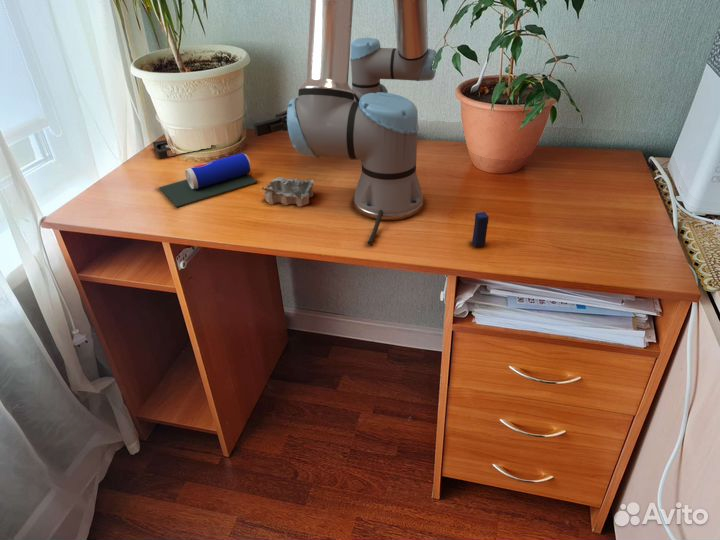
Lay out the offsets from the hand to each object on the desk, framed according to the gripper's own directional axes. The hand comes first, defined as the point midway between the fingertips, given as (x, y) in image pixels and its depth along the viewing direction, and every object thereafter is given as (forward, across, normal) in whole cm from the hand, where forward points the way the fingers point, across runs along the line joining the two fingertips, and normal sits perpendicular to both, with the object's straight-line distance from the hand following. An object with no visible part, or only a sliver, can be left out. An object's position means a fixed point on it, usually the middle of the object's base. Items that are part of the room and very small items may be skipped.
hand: (255, 130), depth 126 cm
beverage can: (+3, 0, -8) cm, 8 cm away
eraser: (-17, -58, -11) cm, 61 cm away
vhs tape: (+11, +27, -11) cm, 31 cm away
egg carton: (+2, -18, -11) cm, 21 cm away
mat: (+14, 0, -10) cm, 18 cm away
